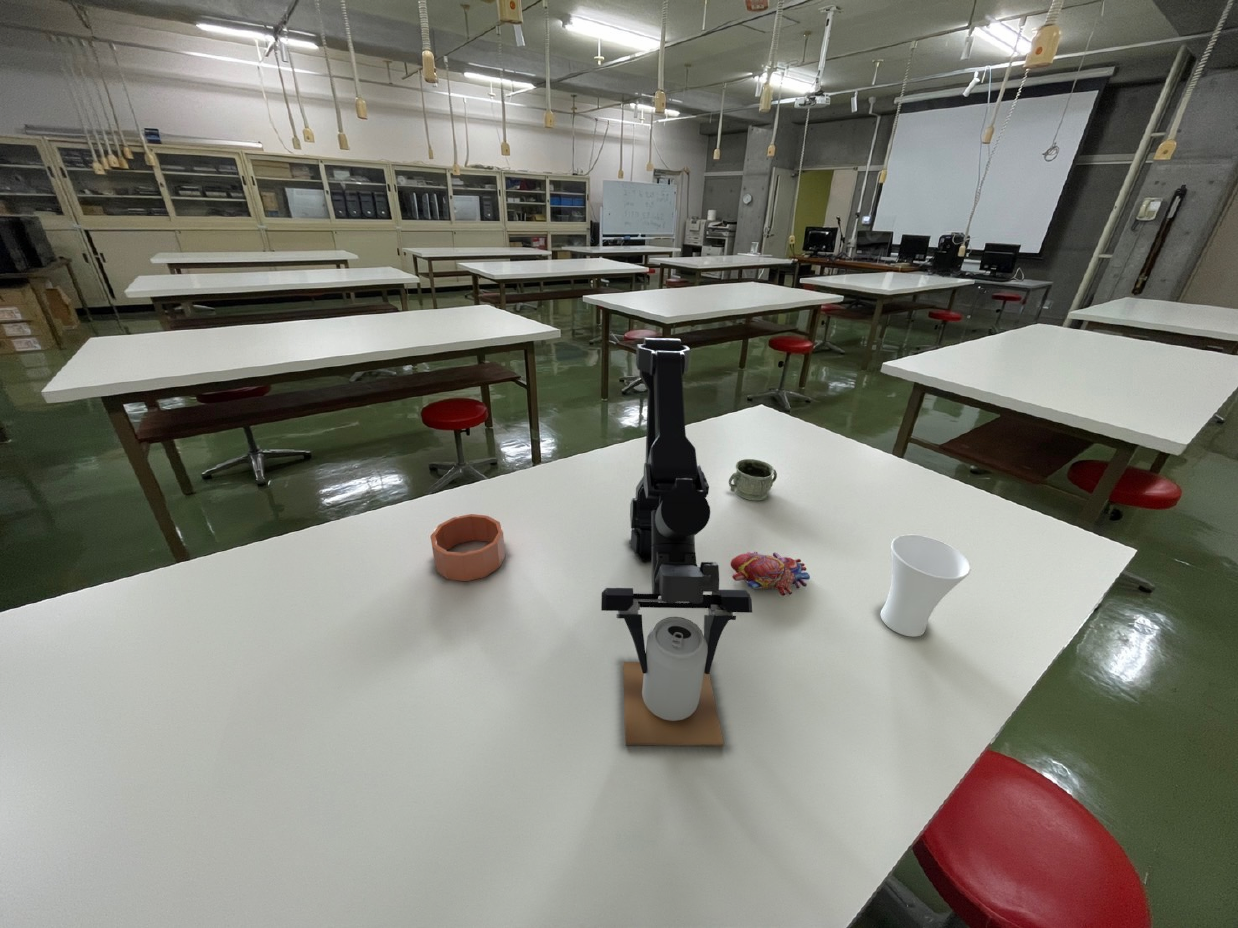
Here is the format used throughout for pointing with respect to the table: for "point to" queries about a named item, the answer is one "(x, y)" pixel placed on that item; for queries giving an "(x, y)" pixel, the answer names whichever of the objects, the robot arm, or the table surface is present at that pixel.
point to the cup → (920, 581)
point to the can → (674, 668)
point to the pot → (469, 562)
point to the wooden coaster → (659, 731)
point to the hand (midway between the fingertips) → (675, 673)
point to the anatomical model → (769, 571)
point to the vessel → (752, 479)
